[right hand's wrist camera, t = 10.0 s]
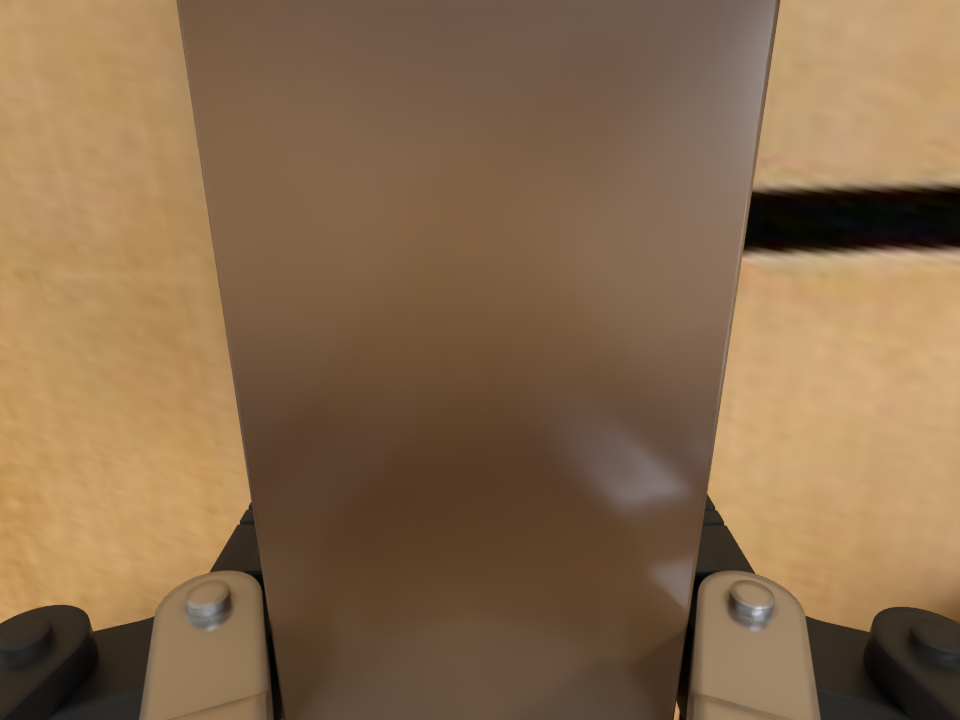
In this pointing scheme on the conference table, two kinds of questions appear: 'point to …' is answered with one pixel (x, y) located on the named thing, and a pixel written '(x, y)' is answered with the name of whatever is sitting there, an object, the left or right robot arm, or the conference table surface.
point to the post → (478, 334)
